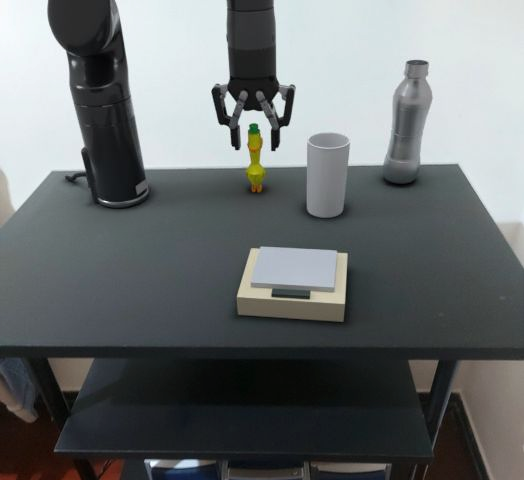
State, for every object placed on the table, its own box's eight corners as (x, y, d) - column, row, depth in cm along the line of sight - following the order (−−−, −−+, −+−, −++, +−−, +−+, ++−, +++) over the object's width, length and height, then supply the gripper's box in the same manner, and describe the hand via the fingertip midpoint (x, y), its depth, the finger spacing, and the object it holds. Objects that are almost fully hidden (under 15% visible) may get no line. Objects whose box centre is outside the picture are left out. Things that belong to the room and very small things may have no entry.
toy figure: (249, 181, 102) (246, 115, 94) (268, 181, 102) (267, 116, 94) (244, 197, 97) (241, 130, 89) (264, 198, 97) (262, 130, 89)
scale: (237, 314, 72) (236, 291, 70) (251, 265, 81) (250, 243, 79) (343, 322, 71) (345, 298, 68) (346, 270, 79) (348, 248, 77)
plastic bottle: (377, 174, 103) (391, 58, 90) (411, 171, 103) (430, 56, 90) (386, 189, 98) (402, 69, 85) (422, 186, 99) (444, 66, 85)
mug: (341, 220, 90) (347, 149, 82) (302, 217, 91) (303, 146, 83) (348, 193, 97) (354, 125, 89) (311, 190, 99) (314, 123, 91)
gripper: (300, 35, 85) (298, 142, 97) (211, 35, 87) (219, 140, 98) (295, 47, 80) (294, 159, 91) (200, 47, 82) (211, 156, 93)
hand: (255, 148), depth 95 cm, fingers open, 5 cm apart
